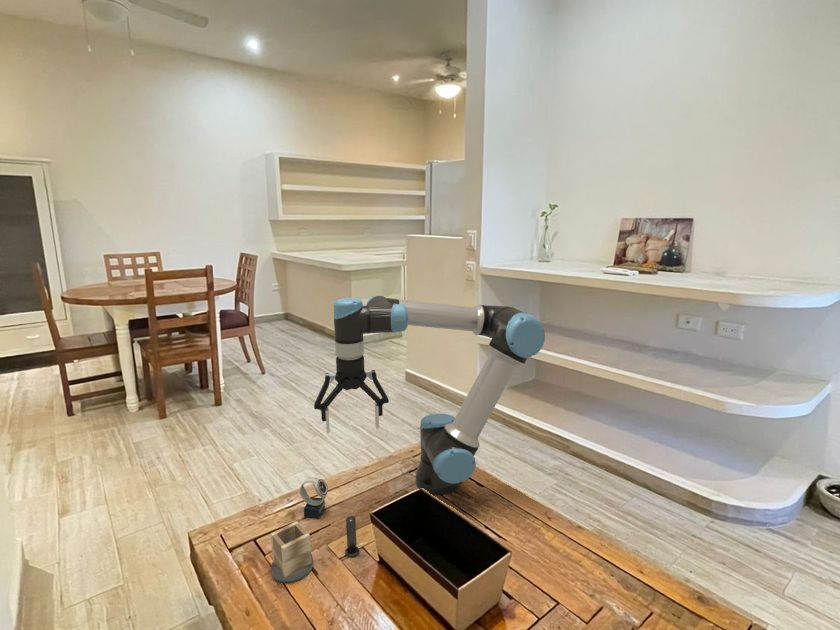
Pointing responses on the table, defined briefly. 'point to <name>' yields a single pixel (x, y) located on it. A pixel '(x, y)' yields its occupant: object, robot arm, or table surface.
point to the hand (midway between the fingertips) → (353, 428)
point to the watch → (314, 504)
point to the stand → (351, 537)
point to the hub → (295, 576)
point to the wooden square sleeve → (291, 549)
